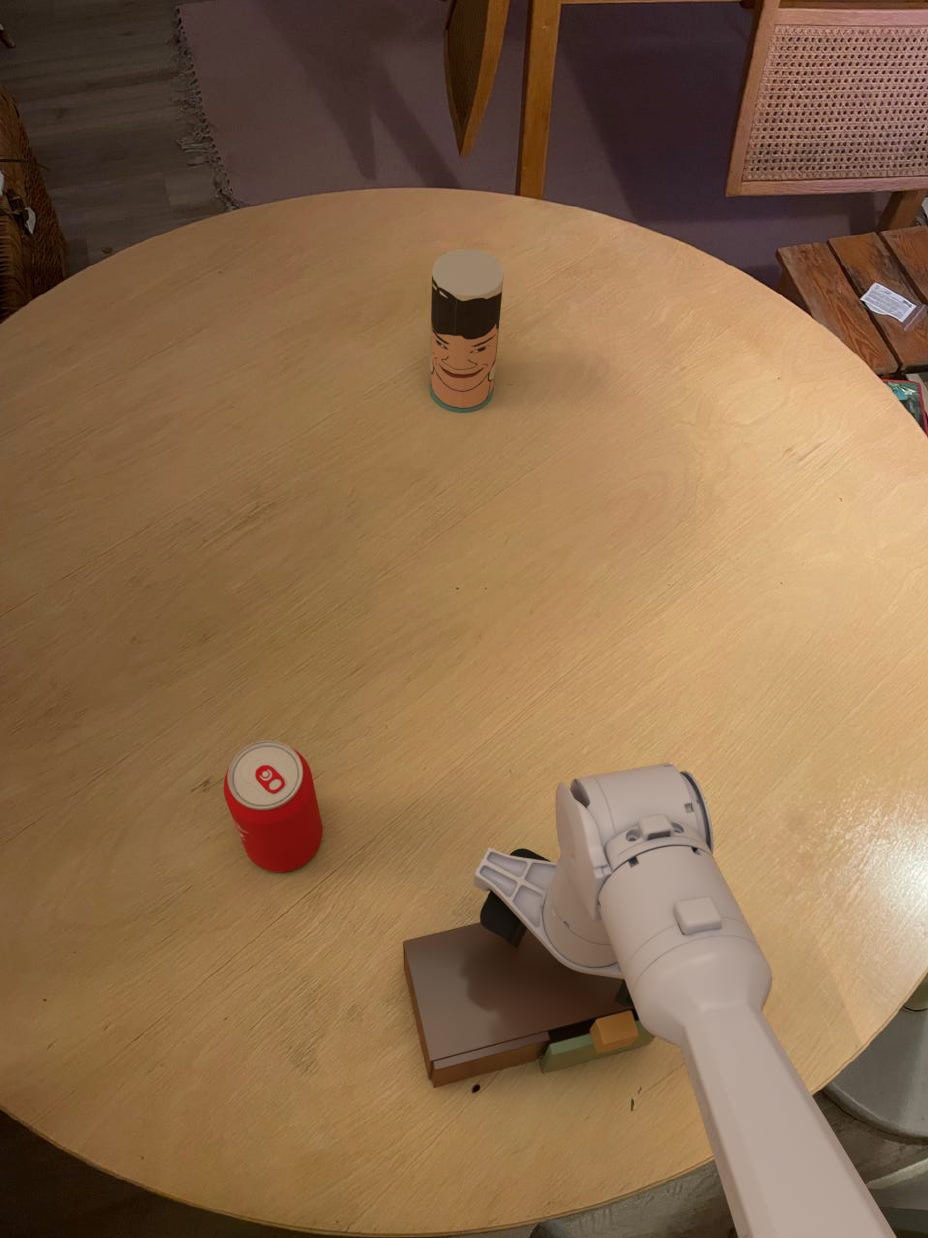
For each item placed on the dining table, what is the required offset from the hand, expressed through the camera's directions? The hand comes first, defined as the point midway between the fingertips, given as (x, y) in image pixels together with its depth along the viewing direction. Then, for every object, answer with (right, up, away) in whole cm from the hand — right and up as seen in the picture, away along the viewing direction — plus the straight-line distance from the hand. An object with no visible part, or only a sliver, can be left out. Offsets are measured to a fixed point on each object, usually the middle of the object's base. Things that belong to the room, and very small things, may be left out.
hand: (571, 960), depth 68 cm
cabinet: (-3, -5, +8) cm, 10 cm away
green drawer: (+2, -8, +5) cm, 10 cm away
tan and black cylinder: (-7, +47, +42) cm, 63 cm away
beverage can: (-21, +5, +14) cm, 26 cm away
